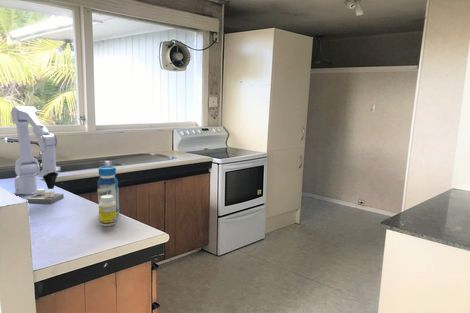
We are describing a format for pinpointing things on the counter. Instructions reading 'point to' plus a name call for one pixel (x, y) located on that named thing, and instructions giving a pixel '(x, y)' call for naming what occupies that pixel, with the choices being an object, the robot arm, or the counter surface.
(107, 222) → the pill bottle
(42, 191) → the switch tab
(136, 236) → the counter surface
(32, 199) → the switch panel
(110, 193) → the beverage bottle
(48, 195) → the switch tab
